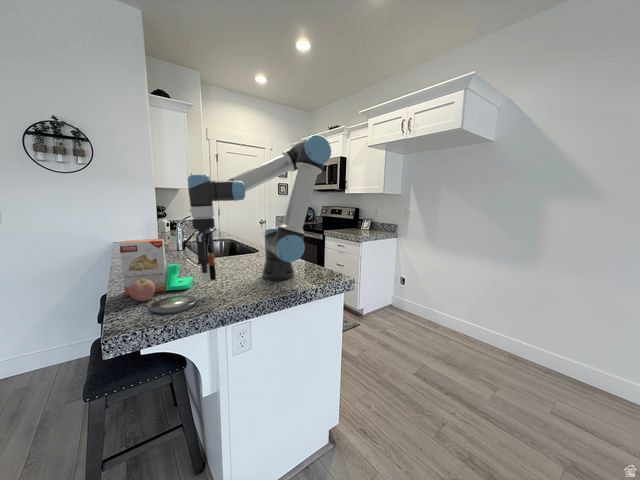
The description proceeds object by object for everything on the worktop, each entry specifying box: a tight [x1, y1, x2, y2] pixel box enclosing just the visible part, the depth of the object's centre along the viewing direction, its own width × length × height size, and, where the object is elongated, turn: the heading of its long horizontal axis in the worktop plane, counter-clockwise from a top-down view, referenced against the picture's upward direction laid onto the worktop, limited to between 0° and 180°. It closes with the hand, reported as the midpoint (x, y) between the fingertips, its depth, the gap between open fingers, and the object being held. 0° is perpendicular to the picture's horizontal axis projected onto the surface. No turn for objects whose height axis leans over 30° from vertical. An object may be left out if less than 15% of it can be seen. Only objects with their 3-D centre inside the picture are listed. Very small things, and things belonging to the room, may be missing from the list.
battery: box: [208, 252, 217, 281], centre depth 100 cm, size 4×7×10 cm, turn 22°
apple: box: [129, 279, 156, 302], centre depth 96 cm, size 8×8×8 cm
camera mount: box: [165, 263, 194, 292], centre depth 110 cm, size 12×8×10 cm, turn 14°
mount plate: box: [150, 294, 198, 316], centre depth 92 cm, size 14×14×1 cm
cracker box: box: [119, 238, 167, 297], centre depth 104 cm, size 14×6×21 cm, turn 115°
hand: (209, 277), depth 101 cm, fingers closed on battery, 7 cm apart
